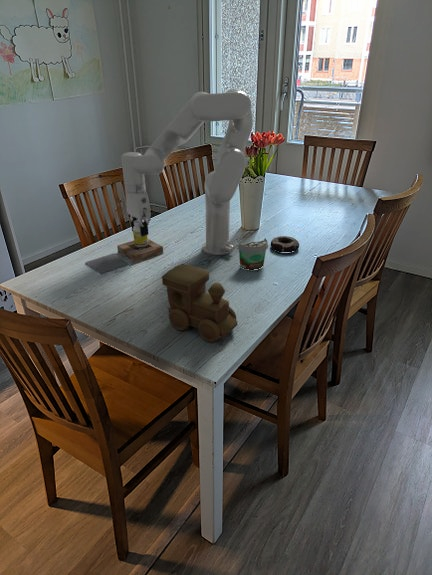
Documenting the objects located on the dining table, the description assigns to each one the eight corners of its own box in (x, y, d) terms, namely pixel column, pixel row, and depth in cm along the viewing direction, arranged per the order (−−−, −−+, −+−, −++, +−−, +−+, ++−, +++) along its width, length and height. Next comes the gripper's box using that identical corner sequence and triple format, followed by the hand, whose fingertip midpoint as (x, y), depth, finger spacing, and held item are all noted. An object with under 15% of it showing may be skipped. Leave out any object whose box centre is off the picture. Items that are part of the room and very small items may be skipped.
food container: (245, 275, 151) (246, 250, 146) (236, 268, 155) (237, 243, 150) (273, 268, 156) (275, 243, 151) (264, 261, 160) (265, 237, 155)
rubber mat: (129, 264, 158) (129, 263, 157) (100, 274, 151) (100, 273, 150) (113, 254, 165) (113, 253, 165) (85, 263, 158) (85, 262, 158)
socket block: (163, 253, 166) (162, 246, 165) (135, 263, 159) (134, 255, 157) (145, 243, 175) (144, 237, 173) (118, 252, 167) (117, 245, 166)
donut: (264, 249, 171) (265, 240, 169) (281, 241, 178) (281, 232, 176) (288, 257, 164) (288, 248, 162) (304, 248, 171) (305, 239, 169)
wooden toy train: (162, 325, 123) (159, 276, 115) (185, 308, 131) (183, 261, 123) (219, 348, 114) (220, 296, 105) (240, 328, 122) (242, 278, 114)
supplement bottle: (135, 241, 167) (132, 218, 162) (148, 241, 167) (146, 218, 162) (134, 247, 162) (131, 224, 157) (147, 247, 163) (145, 223, 158)
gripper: (157, 190, 150) (161, 236, 159) (131, 180, 161) (136, 224, 170) (139, 194, 146) (144, 242, 155) (114, 184, 157) (120, 229, 166)
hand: (140, 232), depth 162 cm, fingers closed on supplement bottle, 5 cm apart
